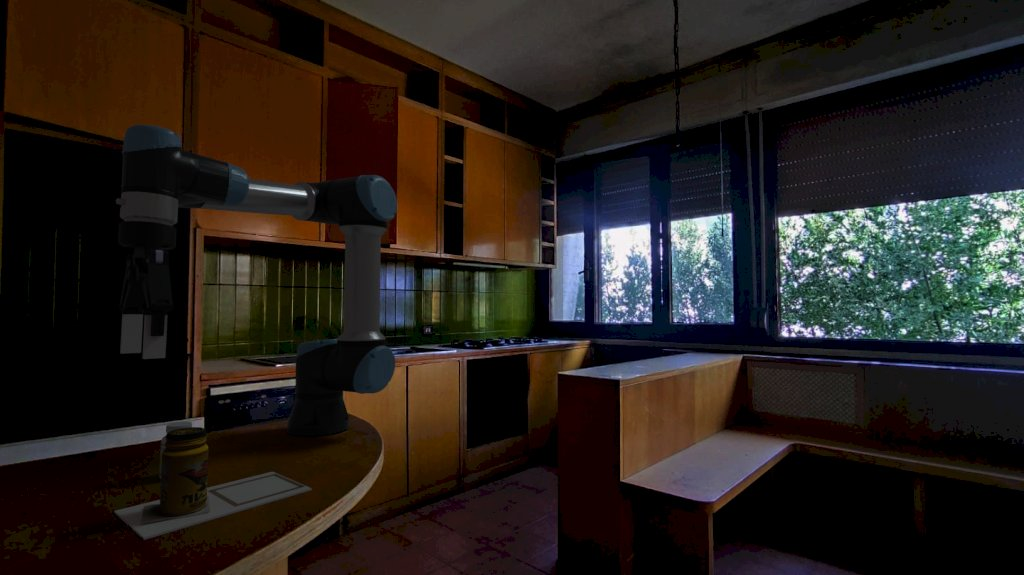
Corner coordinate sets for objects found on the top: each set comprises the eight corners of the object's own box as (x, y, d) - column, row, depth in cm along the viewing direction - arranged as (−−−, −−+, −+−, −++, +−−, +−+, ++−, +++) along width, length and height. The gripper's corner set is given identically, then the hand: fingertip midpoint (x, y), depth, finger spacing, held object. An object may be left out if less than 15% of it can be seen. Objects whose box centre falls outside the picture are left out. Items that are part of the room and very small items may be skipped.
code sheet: (272, 473, 94) (272, 471, 94) (311, 490, 85) (311, 488, 85) (114, 512, 75) (114, 510, 75) (143, 539, 66) (144, 537, 66)
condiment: (210, 512, 75) (213, 432, 75) (140, 525, 70) (143, 439, 71) (208, 497, 81) (211, 423, 81) (143, 508, 76) (147, 429, 77)
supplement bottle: (154, 482, 89) (156, 427, 89) (165, 472, 94) (167, 421, 94) (188, 479, 90) (190, 426, 91) (198, 470, 95) (199, 419, 96)
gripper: (102, 228, 85) (94, 352, 84) (141, 209, 69) (133, 362, 68) (154, 234, 91) (148, 350, 90) (202, 217, 75) (195, 359, 73)
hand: (141, 355), depth 79 cm, fingers open, 13 cm apart
